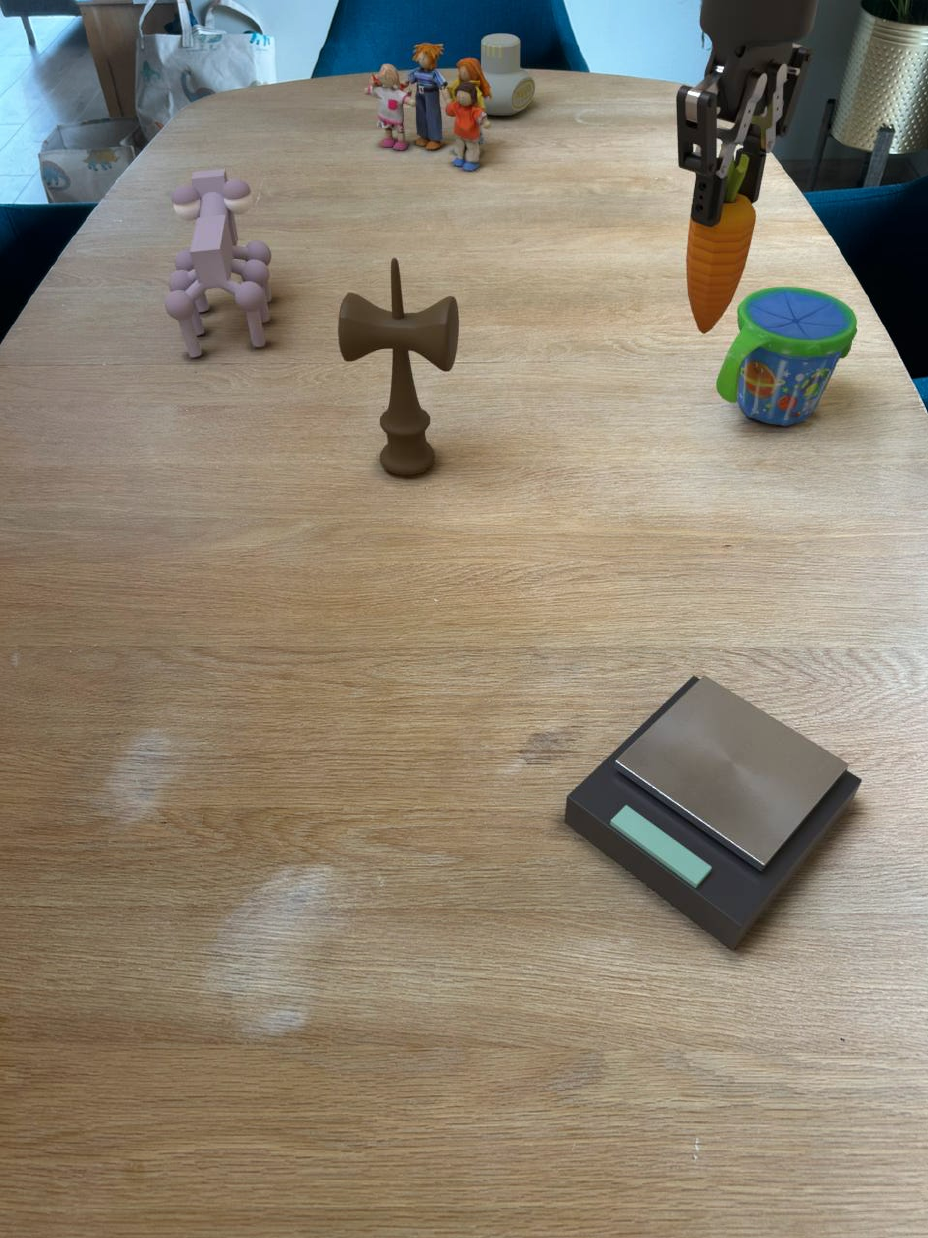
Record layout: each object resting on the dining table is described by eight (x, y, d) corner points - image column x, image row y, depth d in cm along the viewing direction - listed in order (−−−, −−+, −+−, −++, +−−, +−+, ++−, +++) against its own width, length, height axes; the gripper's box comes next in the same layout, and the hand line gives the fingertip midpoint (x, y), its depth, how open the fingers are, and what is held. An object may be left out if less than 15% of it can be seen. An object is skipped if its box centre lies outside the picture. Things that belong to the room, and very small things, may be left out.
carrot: (728, 352, 82) (763, 164, 71) (668, 342, 83) (693, 156, 72) (738, 323, 85) (773, 139, 74) (680, 314, 86) (706, 132, 75)
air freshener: (504, 126, 151) (505, 53, 144) (458, 115, 155) (457, 44, 147) (540, 104, 158) (543, 33, 151) (495, 94, 161) (496, 24, 154)
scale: (687, 702, 73) (694, 670, 70) (850, 805, 66) (864, 775, 64) (563, 822, 66) (566, 791, 63) (732, 951, 59) (743, 923, 57)
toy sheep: (192, 273, 120) (166, 156, 110) (282, 268, 120) (264, 151, 111) (174, 361, 106) (142, 236, 96) (275, 355, 106) (254, 231, 97)
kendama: (453, 487, 90) (448, 279, 76) (349, 478, 91) (325, 271, 77) (463, 448, 94) (460, 243, 80) (364, 440, 96) (343, 237, 81)
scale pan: (702, 682, 69) (704, 674, 69) (846, 771, 64) (849, 763, 63) (613, 768, 64) (614, 760, 64) (761, 872, 59) (764, 865, 58)
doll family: (364, 143, 147) (356, 44, 138) (403, 123, 153) (398, 26, 143) (483, 175, 139) (483, 71, 129) (520, 152, 144) (523, 51, 135)
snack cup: (802, 361, 104) (826, 269, 97) (873, 413, 98) (904, 318, 90) (677, 400, 100) (693, 306, 92) (743, 457, 93) (765, 360, 86)
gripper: (757, -18, 59) (712, 259, 71) (876, -63, 66) (816, 195, 78) (654, -38, 63) (627, 228, 75) (776, -79, 70) (734, 170, 82)
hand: (724, 210), depth 76 cm, fingers closed on carrot, 4 cm apart
